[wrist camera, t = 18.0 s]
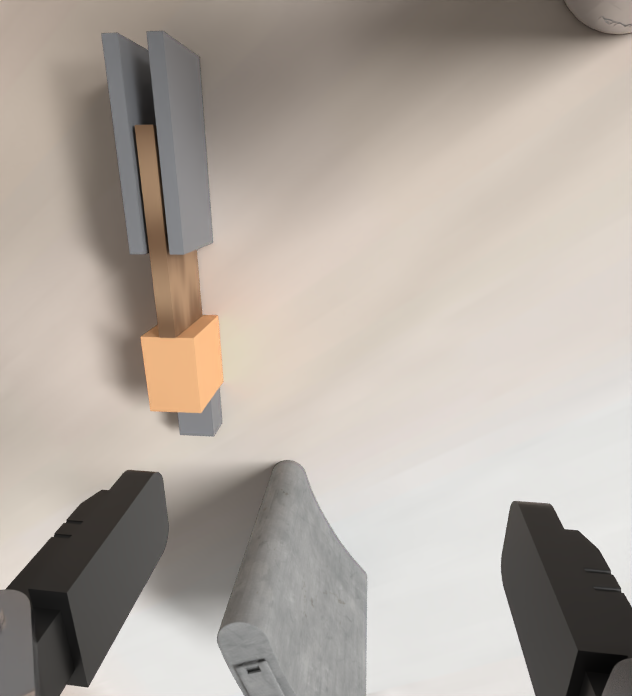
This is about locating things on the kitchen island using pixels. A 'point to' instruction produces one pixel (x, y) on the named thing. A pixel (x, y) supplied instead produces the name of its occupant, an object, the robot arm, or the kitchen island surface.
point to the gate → (165, 247)
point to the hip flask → (296, 601)
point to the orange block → (183, 367)
